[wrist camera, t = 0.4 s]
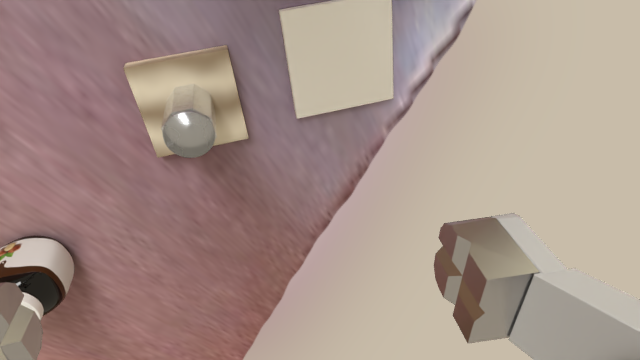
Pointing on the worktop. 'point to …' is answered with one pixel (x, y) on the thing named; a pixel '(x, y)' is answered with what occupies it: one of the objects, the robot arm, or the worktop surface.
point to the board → (338, 54)
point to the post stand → (179, 70)
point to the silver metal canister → (189, 121)
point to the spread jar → (38, 271)
